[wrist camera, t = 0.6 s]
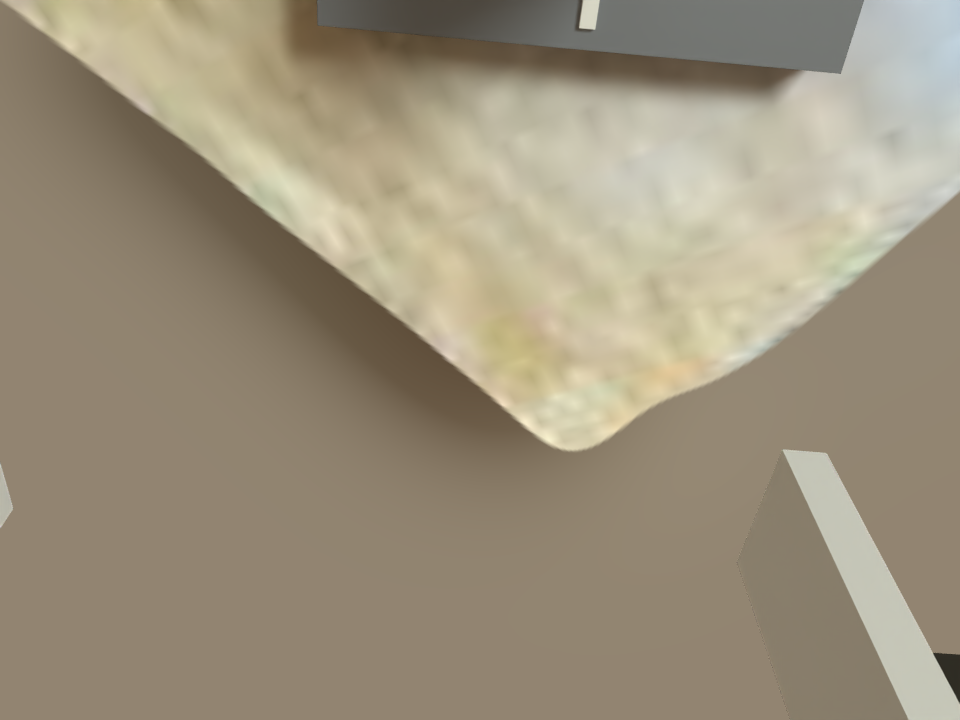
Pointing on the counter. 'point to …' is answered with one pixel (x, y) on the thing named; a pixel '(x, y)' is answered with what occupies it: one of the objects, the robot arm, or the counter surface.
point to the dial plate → (628, 26)
